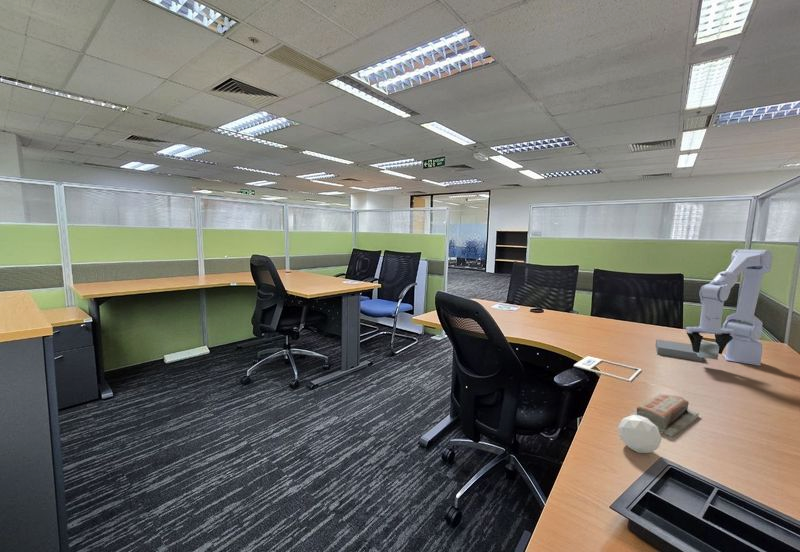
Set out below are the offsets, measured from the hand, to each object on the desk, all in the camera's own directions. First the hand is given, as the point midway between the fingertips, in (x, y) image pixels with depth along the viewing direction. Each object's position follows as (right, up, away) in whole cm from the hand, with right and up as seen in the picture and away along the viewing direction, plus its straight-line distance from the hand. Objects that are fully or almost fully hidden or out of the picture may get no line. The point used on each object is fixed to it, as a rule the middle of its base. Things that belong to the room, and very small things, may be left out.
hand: (707, 352), depth 123 cm
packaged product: (-45, -10, -35) cm, 58 cm away
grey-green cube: (0, -1, 0) cm, 2 cm away
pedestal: (+2, -4, +16) cm, 17 cm away
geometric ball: (-61, -11, -49) cm, 79 cm away
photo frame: (-38, -6, -1) cm, 39 cm away
